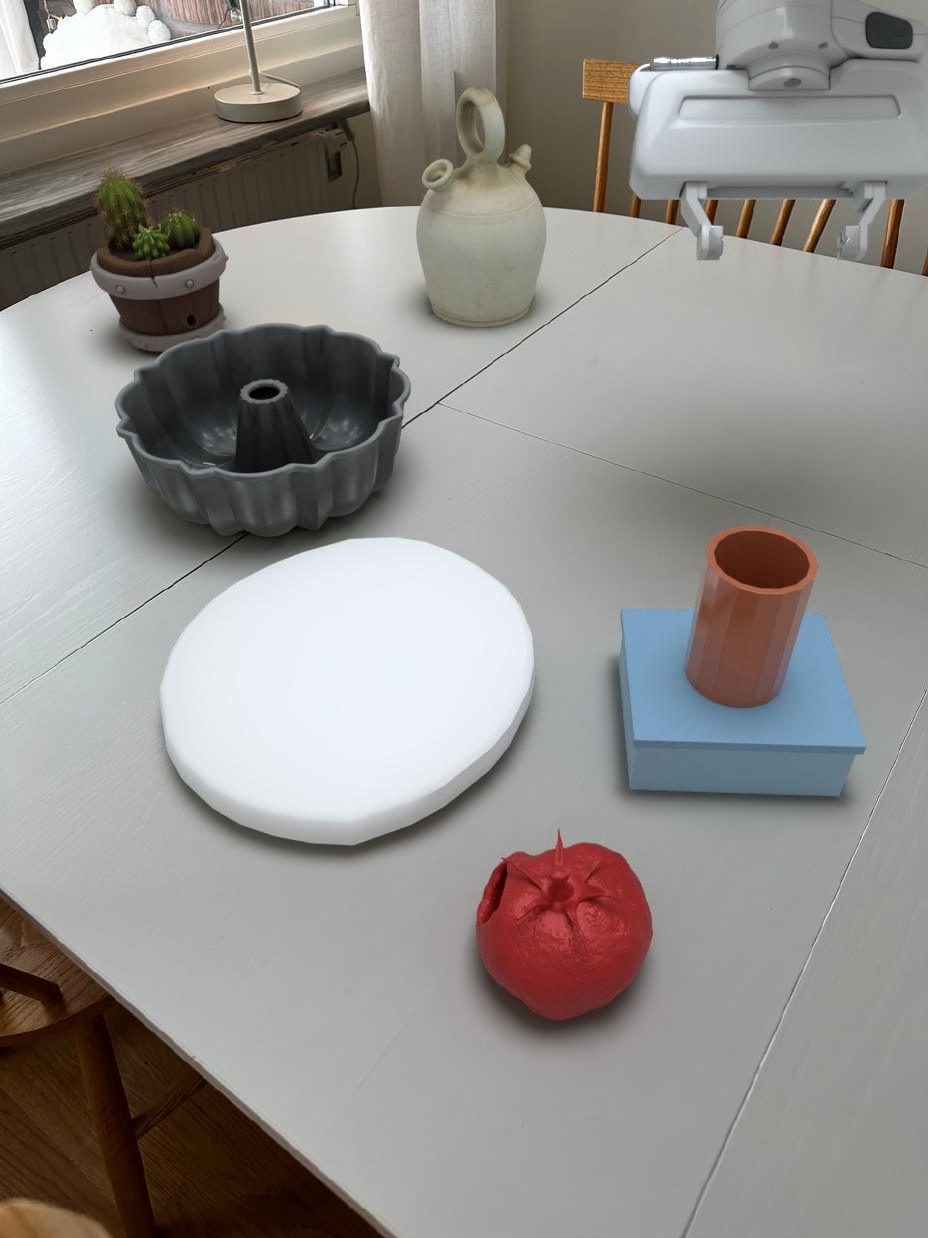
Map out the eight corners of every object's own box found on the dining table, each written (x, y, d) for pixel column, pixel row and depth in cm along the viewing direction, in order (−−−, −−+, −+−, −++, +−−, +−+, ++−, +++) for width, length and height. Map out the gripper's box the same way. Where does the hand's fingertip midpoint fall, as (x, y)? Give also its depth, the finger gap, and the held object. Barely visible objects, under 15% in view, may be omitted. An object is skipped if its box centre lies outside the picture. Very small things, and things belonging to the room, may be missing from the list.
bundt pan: (420, 560, 85) (415, 463, 79) (115, 577, 84) (83, 480, 78) (411, 404, 105) (406, 316, 98) (163, 416, 104) (141, 328, 97)
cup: (773, 639, 69) (805, 526, 62) (791, 709, 64) (828, 595, 57) (679, 637, 69) (700, 524, 62) (690, 706, 64) (714, 592, 58)
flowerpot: (264, 324, 119) (236, 150, 105) (183, 381, 109) (140, 197, 96) (171, 301, 124) (132, 132, 111) (85, 353, 114) (31, 175, 101)
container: (805, 670, 75) (823, 612, 71) (843, 804, 66) (867, 747, 62) (613, 665, 76) (621, 607, 72) (624, 797, 66) (634, 739, 62)
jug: (434, 344, 115) (426, 112, 98) (408, 289, 126) (397, 72, 109) (558, 328, 117) (571, 100, 100) (523, 276, 128) (529, 62, 111)
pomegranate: (679, 971, 57) (703, 884, 51) (545, 1073, 53) (553, 992, 47) (570, 854, 63) (579, 763, 57) (442, 937, 59) (437, 849, 53)
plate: (363, 890, 56) (67, 697, 68) (379, 939, 61) (100, 751, 72) (606, 588, 70) (328, 472, 82) (604, 647, 75) (341, 529, 87)
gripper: (633, 28, 64) (630, 236, 63) (954, 24, 63) (954, 237, 62) (622, 84, 70) (619, 275, 69) (914, 82, 69) (913, 275, 68)
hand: (780, 257), depth 66 cm, fingers open, 8 cm apart
